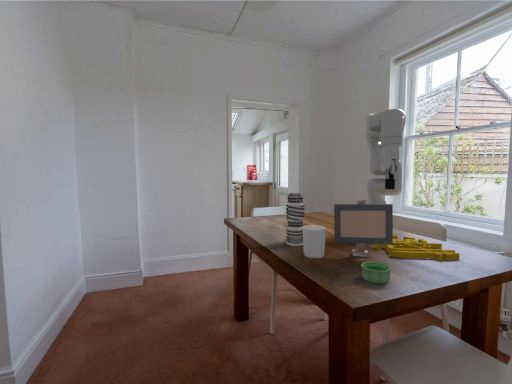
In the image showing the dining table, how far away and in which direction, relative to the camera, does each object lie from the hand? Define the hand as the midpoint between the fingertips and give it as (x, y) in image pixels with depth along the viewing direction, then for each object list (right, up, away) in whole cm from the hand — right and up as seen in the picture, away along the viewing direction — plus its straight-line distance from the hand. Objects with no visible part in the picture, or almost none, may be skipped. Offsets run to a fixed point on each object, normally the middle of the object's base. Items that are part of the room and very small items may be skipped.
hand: (389, 189), depth 106 cm
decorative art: (+17, -28, +17) cm, 37 cm away
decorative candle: (-33, -27, +27) cm, 51 cm away
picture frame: (-9, -22, +4) cm, 24 cm away
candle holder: (-28, -28, +8) cm, 41 cm away
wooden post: (-9, -28, +8) cm, 30 cm away
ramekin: (-14, -30, -18) cm, 37 cm away
